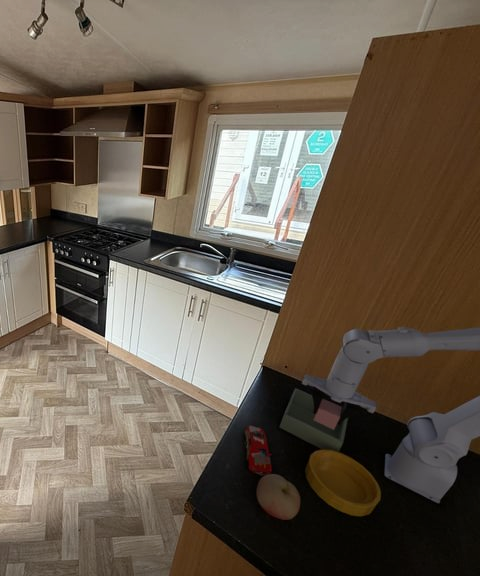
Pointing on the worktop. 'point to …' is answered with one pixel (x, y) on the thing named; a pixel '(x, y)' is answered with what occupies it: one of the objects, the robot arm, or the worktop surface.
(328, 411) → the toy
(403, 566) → the worktop surface
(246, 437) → the race car
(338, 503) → the bowl
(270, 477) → the fruit
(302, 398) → the bin
